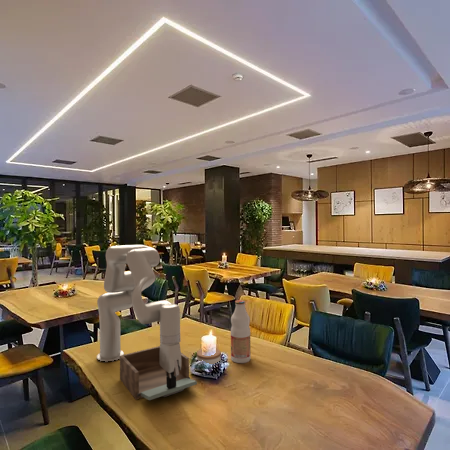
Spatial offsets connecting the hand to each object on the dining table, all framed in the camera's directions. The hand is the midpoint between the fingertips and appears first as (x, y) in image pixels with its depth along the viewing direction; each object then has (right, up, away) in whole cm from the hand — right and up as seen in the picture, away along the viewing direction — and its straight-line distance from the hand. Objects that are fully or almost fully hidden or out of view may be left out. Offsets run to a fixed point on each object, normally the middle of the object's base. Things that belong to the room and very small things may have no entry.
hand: (171, 387), depth 120 cm
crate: (-9, -4, +13) cm, 17 cm away
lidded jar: (+13, -4, +24) cm, 27 cm away
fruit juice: (+28, -4, +34) cm, 44 cm away
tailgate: (-3, -2, +5) cm, 6 cm away
